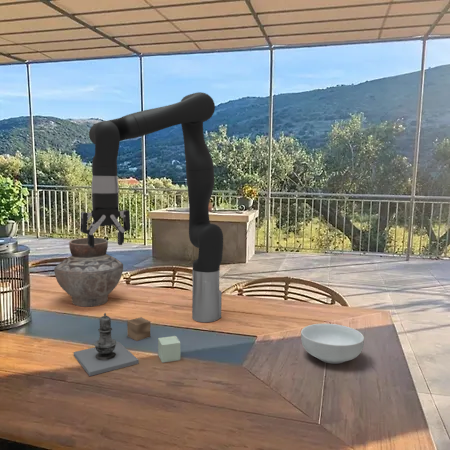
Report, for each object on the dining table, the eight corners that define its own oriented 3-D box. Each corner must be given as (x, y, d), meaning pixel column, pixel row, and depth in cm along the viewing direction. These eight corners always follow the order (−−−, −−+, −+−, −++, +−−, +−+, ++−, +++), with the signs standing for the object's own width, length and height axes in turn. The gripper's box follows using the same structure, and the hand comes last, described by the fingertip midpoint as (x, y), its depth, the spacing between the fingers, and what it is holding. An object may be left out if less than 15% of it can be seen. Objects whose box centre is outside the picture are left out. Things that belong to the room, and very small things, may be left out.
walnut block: (141, 332, 136) (141, 317, 135) (150, 337, 132) (150, 321, 132) (127, 336, 132) (127, 320, 132) (136, 341, 129) (136, 325, 128)
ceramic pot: (113, 313, 152) (112, 247, 149) (43, 312, 152) (41, 245, 149) (130, 293, 177) (129, 235, 173) (70, 291, 177) (68, 234, 174)
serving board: (119, 345, 125) (119, 341, 125) (138, 363, 114) (138, 359, 114) (73, 355, 118) (73, 352, 118) (89, 376, 107) (89, 372, 107)
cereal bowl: (363, 350, 125) (365, 327, 124) (361, 376, 110) (363, 349, 109) (304, 341, 131) (305, 319, 130) (295, 365, 115) (296, 339, 114)
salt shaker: (110, 361, 113) (110, 317, 111) (90, 359, 114) (89, 315, 112) (120, 352, 118) (120, 310, 117) (100, 350, 119) (100, 308, 118)
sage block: (175, 352, 121) (175, 335, 121) (180, 360, 117) (180, 342, 116) (158, 355, 120) (158, 338, 119) (162, 363, 115) (162, 345, 114)
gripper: (123, 190, 133) (124, 242, 135) (76, 191, 125) (78, 246, 127) (133, 191, 127) (133, 246, 129) (84, 192, 119) (86, 250, 121)
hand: (106, 246), depth 128 cm, fingers open, 8 cm apart
